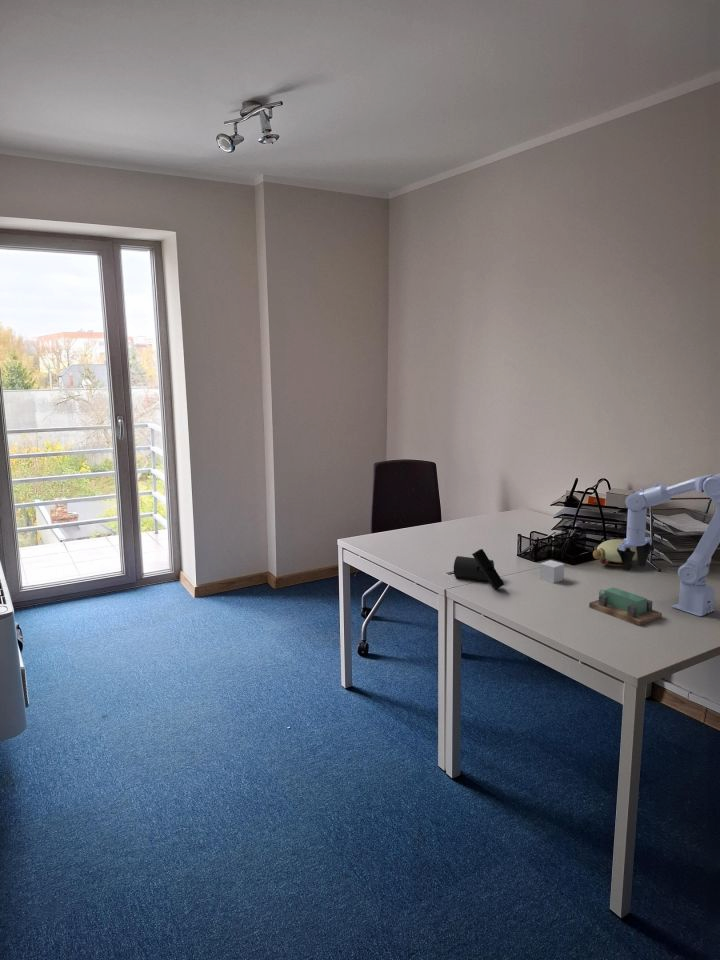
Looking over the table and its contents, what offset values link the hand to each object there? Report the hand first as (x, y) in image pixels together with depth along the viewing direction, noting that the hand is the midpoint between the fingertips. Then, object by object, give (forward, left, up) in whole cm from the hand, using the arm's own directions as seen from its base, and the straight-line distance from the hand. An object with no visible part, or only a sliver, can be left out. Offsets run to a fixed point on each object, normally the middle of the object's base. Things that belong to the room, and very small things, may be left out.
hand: (634, 567), depth 216 cm
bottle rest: (-8, +15, -9) cm, 19 cm away
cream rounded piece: (+24, -22, -10) cm, 34 cm away
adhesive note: (+26, +10, -10) cm, 29 cm away
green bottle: (-6, +15, -8) cm, 18 cm away
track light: (+39, +33, -10) cm, 52 cm away
